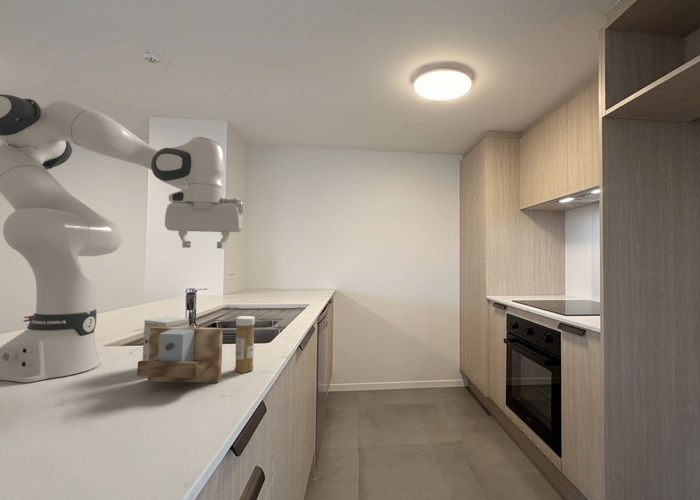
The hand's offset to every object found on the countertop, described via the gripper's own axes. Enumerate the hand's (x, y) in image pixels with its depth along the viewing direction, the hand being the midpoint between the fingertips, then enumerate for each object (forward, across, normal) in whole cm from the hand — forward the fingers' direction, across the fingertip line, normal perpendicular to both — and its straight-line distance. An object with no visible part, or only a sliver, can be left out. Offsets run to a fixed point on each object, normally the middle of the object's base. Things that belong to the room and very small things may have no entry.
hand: (203, 248), depth 89 cm
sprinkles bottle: (+31, -14, +5) cm, 35 cm away
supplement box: (+31, +6, +6) cm, 32 cm away
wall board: (+31, -3, +17) cm, 35 cm away
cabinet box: (+26, -3, +17) cm, 31 cm away
